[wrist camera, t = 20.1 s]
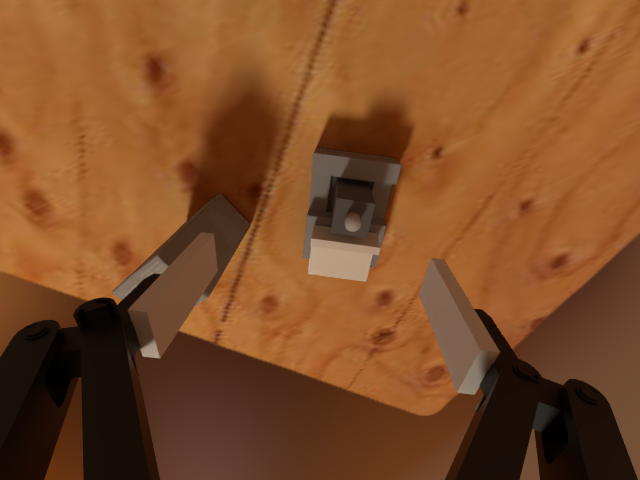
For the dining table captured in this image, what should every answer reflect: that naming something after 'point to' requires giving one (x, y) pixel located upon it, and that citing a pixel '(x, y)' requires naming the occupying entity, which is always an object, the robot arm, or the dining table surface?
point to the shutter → (341, 254)
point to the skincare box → (207, 219)
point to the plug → (352, 208)
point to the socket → (352, 167)
